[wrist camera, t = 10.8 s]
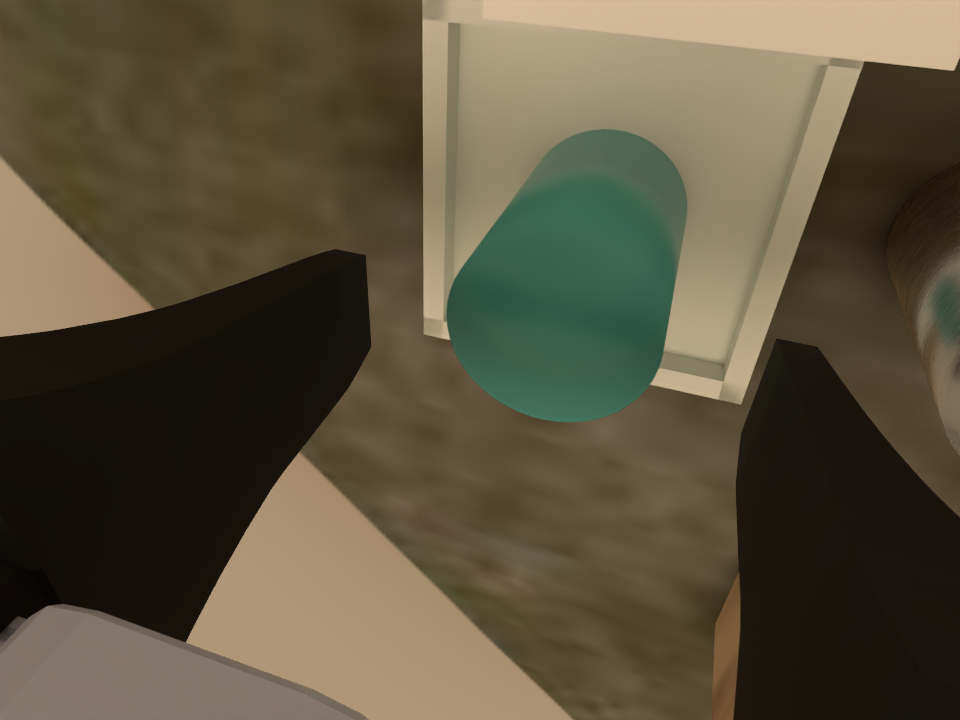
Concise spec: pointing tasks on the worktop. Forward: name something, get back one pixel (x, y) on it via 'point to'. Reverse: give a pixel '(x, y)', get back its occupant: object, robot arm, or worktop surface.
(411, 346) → the worktop surface
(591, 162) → the cylinder
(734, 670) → the oak block
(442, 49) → the tray
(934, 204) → the cylinder
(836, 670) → the robot arm
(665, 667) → the worktop surface
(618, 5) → the block
